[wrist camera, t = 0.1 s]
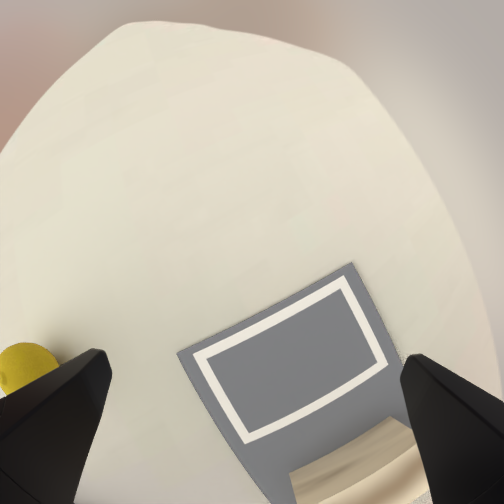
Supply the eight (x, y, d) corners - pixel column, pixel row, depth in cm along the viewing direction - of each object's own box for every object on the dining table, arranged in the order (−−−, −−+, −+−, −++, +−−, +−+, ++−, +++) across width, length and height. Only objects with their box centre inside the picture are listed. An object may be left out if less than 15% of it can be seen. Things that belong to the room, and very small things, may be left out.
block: (407, 457, 18) (439, 481, 13) (315, 510, 17) (329, 546, 12) (389, 415, 20) (424, 437, 14) (288, 473, 19) (298, 511, 13)
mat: (433, 449, 19) (435, 450, 18) (294, 529, 17) (294, 531, 17) (350, 262, 23) (351, 262, 23) (177, 352, 21) (176, 353, 21)
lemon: (70, 340, 21) (12, 342, 14) (81, 397, 20) (28, 417, 12) (32, 342, 21) (-23, 342, 13) (42, 395, 20) (-10, 408, 12)
